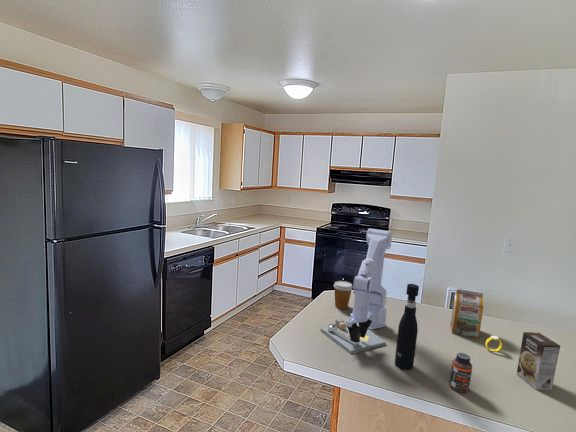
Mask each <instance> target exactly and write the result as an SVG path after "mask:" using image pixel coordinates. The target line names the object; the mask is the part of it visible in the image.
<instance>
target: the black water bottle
mask: <svg viewBox="0 0 576 432" xmlns="http://www.w3.org/2000/svg"><path fill="white" fill-rule="evenodd" d="M419 287H420V286H419V285H417V284H416V283H408V284H407V286H406V292H405V294H406V295H407V300H406V303H405V305H404V311H403V315H402V316H401V319H400V321H399V324H398V330H397V340H396V347H395V356H394V366H395V367H396V368H398V369H400V370H403V371H411V370H413V369H414V363H415V355H416V346H417V340H418V339H417V338H418V331H419V329H418V322H417V321H418V320H417V317H416V313H417V307H416V306H417V303H416V297H418V296H419V291H420V290H419V289H420V288H419Z"/></svg>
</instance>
